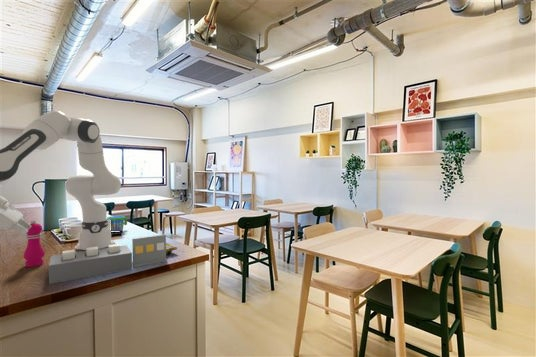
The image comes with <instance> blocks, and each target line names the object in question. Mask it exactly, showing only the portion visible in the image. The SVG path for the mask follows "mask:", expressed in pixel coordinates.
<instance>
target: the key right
mask: <svg viewBox="0 0 536 357" xmlns="http://www.w3.org/2000/svg"><path fill="white" fill-rule="evenodd" d="M120 246H121V245H120V244H119V243H115V244H112V245H108V247H107V248H108V253H114V252H120Z"/></svg>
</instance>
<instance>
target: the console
mask: <svg viewBox="0 0 536 357" xmlns="http://www.w3.org/2000/svg"><path fill="white" fill-rule="evenodd" d="M132 262H133V251H132V250H130V247H129V246H128V245H127V244H126V245H120V252H114V253H108V247H105V248H101V249H98V255H94V256H87V254H86V250H83V251H82V250H81V251H75V258H74V259H67V260H63V257H62V253H59V254H55V255H54V254H53V255H51V257H50V259H49V263H48V285H53V284H58V283H62V282H68V281H74V280H80V279H84V278H85V279H86V278H90V277H95V276H101V275H107V274H112V273H118V272H123V271H128V270H133V265H132Z"/></svg>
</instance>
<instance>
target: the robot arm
mask: <svg viewBox="0 0 536 357" xmlns="http://www.w3.org/2000/svg"><path fill="white" fill-rule="evenodd" d="M100 134H101V133H100V128H99V125H98V124H97V122H95V121H92V120H91V119H84V118H80V117H73V116H67V115H66V114H65V113H64V112H61V111H59V110H50V111H48V112H46V113H44V114H42V115H40V116H39V117H37V118H35V119H34V120H33V121H32V122H30V123H29V124H28V125H27V126H26V127H25V128H24V129H23V130H22V132H21V133H20V136H19V137H17V138H16V139H15V140H14V141H12V142H11V143H9V144H8V145H7V146H4V147H3V148H1V149H0V188H1V187H3V186H4V185H6V184H7V183H8V181H10V179H11V178H12V177H13V176H15V174H16V173H17V171H18V168H19V166H20V164H21V162H22V161H23V160H24V159H25V158H27V157H28V156H29V155H30V154H32V153H33V152H34V151H35V150H40V151H43V150H46V149H48V148H50V147H52V146H53V145H54V144H56V142H58V141H59V140H60V139H64V140H67V141H72V142H77V154H78V164H79V165H80V167H81V168H82V169H84V170H86V171H88V172H90V173H91V174H92V175H91V174H88V175H87V174H85V175H84V174H83V175H81V174H80V175H74V176H70V177H68V178H67V180H66V181H65V184H64V185H65V186H64V187H65V190H66V192H67V193H68V194H69V195H71V196H72V197H74V198H75V200H77V202H78V203H79V204H80V207H81V213H82V221H81V230H80V232H78V237H77V239H78V240H77V242H78V243H77V244H76V245H75V246H74V250H81V251H82V250H83V251H86V248H89V247H98V249H103V248H108V245H112V244H116V241H114V240H112V233H111V230H110V229H109V224H108V221H107V205H105V203H103V202H100V201H99V200H96V199H95V198H94V196H109V195H115V194H118V193H119V191H120V190H121V189H122V182H121V180H120V179H119V177H118V176H117V175H115V174H113V173H112V172H111V171H110V170H109V168H108V167H107V165H106V163H105V158H104V147H103V140H102V138H101V135H100ZM23 217H24V214H23V213H22V212H21V211H20V210H19V209H18V208H16V207H15V206H14V205H13V204H11V203H10V202H9V200H8V199H7V198H5V197H4V196H2V195H1V194H0V228H1V229H2V230H5V231H9V230H10V229H11V230H13V231H16V232H18V233H20V234H22V235H27V234H26V233H27V232H28V230H29V229H30V228H31V225H30V224H31V223H28V222H27V221H26V220H25V219H24V218H23ZM107 226H108V227H107Z"/></svg>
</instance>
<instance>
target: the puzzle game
mask: <svg viewBox="0 0 536 357" xmlns="http://www.w3.org/2000/svg"><path fill="white" fill-rule="evenodd" d="M176 250H178V247H177V246H176V245H173V244H171V243H168V242H166V255H168V254H171V253H172V252H173V251H176Z"/></svg>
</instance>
